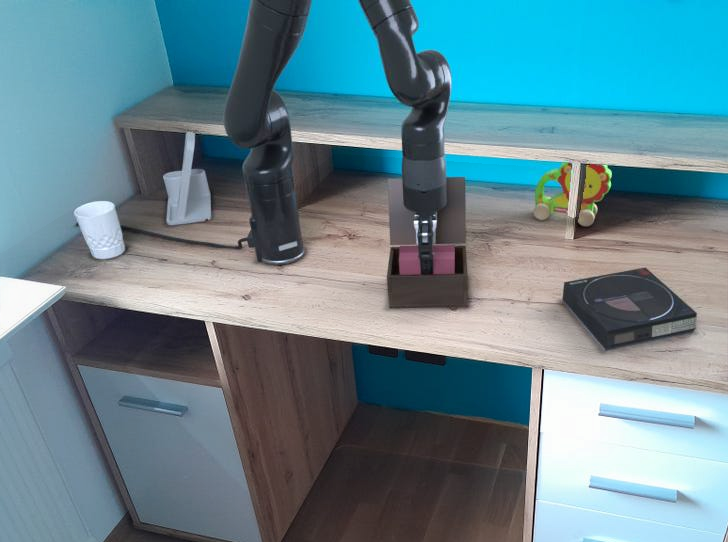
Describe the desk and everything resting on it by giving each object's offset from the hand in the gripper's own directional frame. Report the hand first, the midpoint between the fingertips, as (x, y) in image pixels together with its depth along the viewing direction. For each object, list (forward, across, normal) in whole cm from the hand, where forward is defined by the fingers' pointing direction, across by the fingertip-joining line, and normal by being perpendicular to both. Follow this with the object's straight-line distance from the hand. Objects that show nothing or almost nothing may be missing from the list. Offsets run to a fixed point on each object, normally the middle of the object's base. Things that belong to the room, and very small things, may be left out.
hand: (427, 266), depth 127 cm
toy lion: (+6, -30, +31) cm, 44 cm away
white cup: (+6, -19, -69) cm, 72 cm away
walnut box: (+6, 0, 0) cm, 6 cm away
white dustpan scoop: (+6, -41, -58) cm, 71 cm away
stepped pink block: (0, 0, 0) cm, 0 cm away
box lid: (-7, -8, 0) cm, 11 cm away
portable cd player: (+6, +10, +35) cm, 37 cm away
